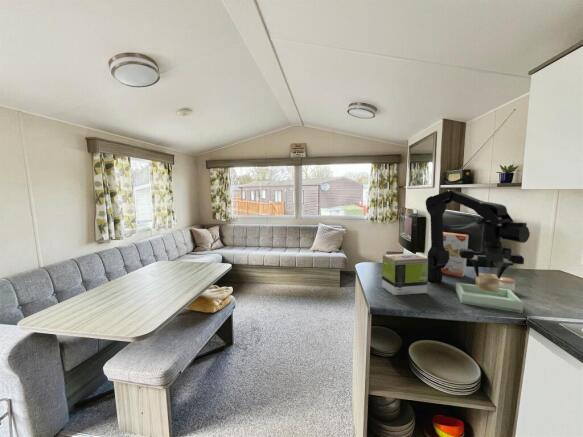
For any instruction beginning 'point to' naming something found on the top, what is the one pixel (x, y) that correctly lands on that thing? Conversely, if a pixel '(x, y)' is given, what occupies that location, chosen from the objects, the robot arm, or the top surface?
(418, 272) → the tea box
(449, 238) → the cracker box
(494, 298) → the green tote
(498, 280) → the oak block
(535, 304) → the top surface
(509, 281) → the cream tub
